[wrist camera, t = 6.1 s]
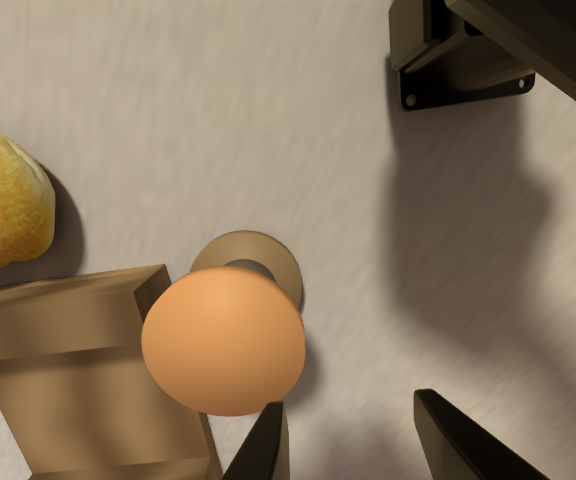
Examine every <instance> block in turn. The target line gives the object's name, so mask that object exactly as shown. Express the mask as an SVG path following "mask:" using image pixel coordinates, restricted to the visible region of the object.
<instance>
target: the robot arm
mask: <svg viewBox="0 0 576 480" xmlns="http://www.w3.org/2000/svg"><path fill="white" fill-rule="evenodd" d="M389 31H390V53H391V68H392V69H393V70H394V71H395V72H397V82H398V104H399V107H400V109H401V110H402V111H404V112H412V111H418V110H425V109H431V108H438V107H444V106H451V105H457V104H464V103H470V102H477V101H483V100H490V99H496V98H503V97H509V96H515V95H520V94H524V93H527V92H529V91H530V90H531V89H532V87H533V86H534V83H535V73H536V72H537V73H538V74H539V75H541V76H542V77H544V78H545V79H546V80H548V81H549V82H550V83H552V84H553V85H554V86H556V87H557V88H559V89H560V90H561V91H563V92H564V93H565V94H567V95H568V96H569V97H571V98H572V99H574V100H575V101H576V0H394V4H393V5H392V7H391V8H390V10H389ZM521 79H522V80H523V81H524V85H523V87H522V88H521V87H520V86H519V82H520V80H521ZM408 96H411V97H412V98H413V104H412V105H411V106H408V105H407V103H406V98H407V97H408ZM414 422H415V426H416V429H417V432H418V435H419V438H420V441H421V444H422V447H423V450H424V453H425V456H426V459H427V462H428V465H429V468H430V471H431V474H432V477H433V480H550V479H549V478H547V477H546V476H545V475H544V474H542V473H541V472H540V471H538V470H537V469H536V468H534V467H533V466H532V465H531V464H529V463H528V462H527V461H525V460H524V459H523V458H521V457H520V456H519V455H518V454H516V453H515V452H514V451H512V450H511V449H510V448H508V447H507V446H506V445H505V444H503V443H502V442H501V441H499V440H498V439H497V438H495V437H494V436H493V435H492V434H490V433H489V432H488V431H486V430H485V429H484V428H482V427H481V426H480V425H479V424H477V423H476V422H475V421H473V420H472V419H471V418H469V417H468V416H467V415H466V414H464V413H463V412H462V411H460V410H459V409H458V408H456V407H455V406H454V405H453V404H451V403H450V402H449V401H447V400H446V399H445V398H443V397H442V396H441V395H440V394H438V393H437V392H436V391H434V390H432V389H418V390H415V391H414ZM221 480H290V465H289V431H288V423H287V416H286V410H285V404H284V402H283V401H273V402H268V403H267V404H266V406H265V407H264V409H263V411H262V412H261V414H260V416H259V417H258V419H257V421H256V422H255V424H254V426H253V427H252V429H251V431H250V432H249V434H248V436H247V437H246V439H245V441H244V442H243V444H242V446H241V447H240V449H239V451H238V452H237V454H236V456H235V457H234V459H233V461H232V462H231V464H230V466H229V467H228V469H227V470H226V472H225V474H224V475H223V477H222V479H221Z"/></svg>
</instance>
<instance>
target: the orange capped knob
mask: <svg viewBox="0 0 576 480" xmlns="http://www.w3.org/2000/svg"><path fill="white" fill-rule="evenodd" d="M301 296H302V282H301V273H300V269H299V266H298V264H297V262H296V260H295V258H294V256H293V255H292V253H291V252H290V251H289V250H288V249H287V248H286V247H285V246H284V245H283V244H282V243H281V242H279V241H278V240H276V239H275V238H273V237H271V236H269V235H266V234H263V233H260V232H255V231H245V230H244V231H235V232H230V233H227V234H224V235H222V236H220V237H218V238H216V239H215V240H213V241H212V242H210V243H209V244H208V245H207V246H206V247H205V248H204V249H203V250H202V251H201V253H200V254H199V255H198V256H197V258H196V259H195V261H194V263H193V265H192V267H191V270H190V273H188V274H186V275H184V276H183V277H181V278H180V279H178V280H177V281H175V282H174V283H173V284H172V285H171V286H170V287H169V288H168V289H167V290H166V291H165V292H164V293H163V294H162V295H161V296H160V297H159V298H158V300H157V301H156V302H155V303H154V305H153V306H152V307H151V309H150V311H149V313H148V314H147V317H146V319H145V322H144V325H143V330H142V340H141V343H142V352H143V356H144V360H145V363H146V365H147V368H148V370H149V371H150V373H151V375H152V377H153V378H154V380H155V381H156V382H157V384H158V385H159V386H160V387H161V388H162V389H163V390H164V391H165V392H166V393H167V394H168V395H170V396H171V397H172V398H173V399H175V400H176V401H178V402H179V403H181V404H183V405H185V406H187V407H189V408H191V409H193V410H196V411H199V412H202V413H206V414H210V415H216V416H228V417H230V416H243V415H249V414H253V413H256V412H259V411H262V410H263V409H264V407H265V406H266V404H267V403H268V402H273V401H280V400H281V399H283V398H284V397H285V396H286V395H287V394H288V393H289V392H290V391H291V389H292V388H293V387H294V386H295V384H296V383H297V381H298V379H299V377H300V375H301V373H302V370H303V367H304V362H305V354H306V346H305V331H304V325H303V320H302V317H301V315H300V312H299V310H298V307H299V304H300V301H301Z"/></svg>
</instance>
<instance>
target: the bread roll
mask: <svg viewBox="0 0 576 480" xmlns="http://www.w3.org/2000/svg"><path fill="white" fill-rule="evenodd" d="M54 228H55V192H54V189H53V187H52V184H51V182H50V180H49V178H48V176H47V175H46V173H45V172H44V171H43V169H42V168H41V167H40V166H39V164H38V163H37V162H36V161H35V160H34V159H33V158H32V157H31V156H30V155H29V154H28V153H27V152H26V151H25V150H24V149H23V148H21V147H20V146H19V145H17V144H16V143H14V142H13V141H11V140H10V139H9V138H7V137H6V136H4V135H2V134H0V268H2V267H4V266H6V265H7V264H9V263H10V262H12V261H14V262H18V261H28V260H32V259H35V258H37V257H39V256H40V255H41V254H43V253H44V252H46V250H47V249H48V248H49V247H50V246H51V244H52V241H53V238H54Z"/></svg>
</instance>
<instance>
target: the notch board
mask: <svg viewBox="0 0 576 480" xmlns="http://www.w3.org/2000/svg"><path fill="white" fill-rule="evenodd" d="M170 286H171V285H170V282H169V278H168V274H167V271H166V267H165V264H162V265H154V266H146V267H139V268H131V269H124V270H116V271H109V272H101V273H94V274H86V275H79V276H71V277H64V278H56V279H48V280H41V281H33V282H26V283H18V284H11V285H3V286H0V410H1V412H2V414H3V416H4V418H5V420H6V422H7V424H8V426H9V428H10V430H11V432H12V434H13V436H14V438H15V440H16V442H17V444H18V446H19V448H20V450H21V452H22V454H23V456H24V458H25V460H26V462H27V464H28V466H29V468H30V470H31V472H32V475H31V476H30V478H29V479H28V480H220V479H221V475H222V472H221V468H220V465H219V461H218V457H217V454H216V450H215V446H214V443H213V439H212V435H211V432H210V428H209V424H208V421H207V417H206V413H202V412H199V411H196V410H193V409H191V408H189V407H187V406H185V405H183V404H181V403H179V402H178V401H176V400H175V399H173V398H172V397H171V396H170V395H168V394H167V393H166V392H165V391H164V390H163V389H162V388H161V387H160V386H159V385H158V384H157V382H156V381H155V380H154V378H153V377H152V375H151V373H150V371H149V370H148V368H147V365H146V363H145V360H144V356H143V352H142V343H141V340H142V330H143V325H144V322H145V319H146V317H147V314H148V313H149V311H150V309H151V307H152V306H153V305H154V303H155V302H156V301H157V300H158V298H159V297H160V296H161V295H162V294H163V293H164V292H165V291H166V290H167V289H168V288H169V287H170Z"/></svg>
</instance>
